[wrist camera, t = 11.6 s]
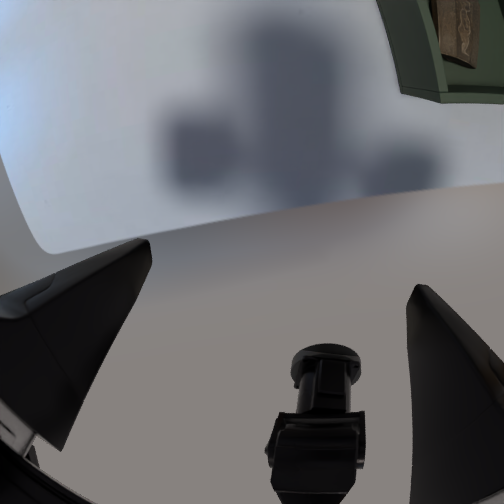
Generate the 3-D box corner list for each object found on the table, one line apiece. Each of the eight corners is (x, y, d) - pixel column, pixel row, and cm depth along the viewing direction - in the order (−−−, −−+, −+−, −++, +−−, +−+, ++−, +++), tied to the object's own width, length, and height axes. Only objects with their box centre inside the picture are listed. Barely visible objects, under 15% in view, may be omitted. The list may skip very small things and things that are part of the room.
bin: (518, 95, 12) (576, 113, 6) (400, 93, 15) (440, 103, 9) (485, -31, 7) (533, -51, 1) (358, -45, 10) (374, -90, 4)
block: (427, 55, 12) (437, 53, 11) (426, -25, 9) (435, -32, 8) (475, 72, 12) (488, 73, 10) (474, -5, 8) (487, -10, 7)
